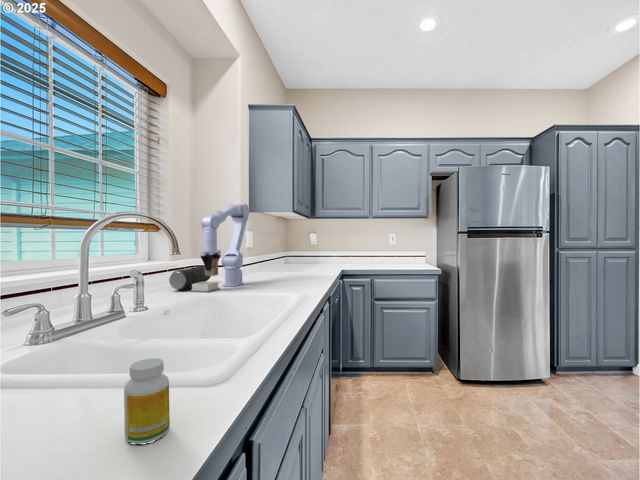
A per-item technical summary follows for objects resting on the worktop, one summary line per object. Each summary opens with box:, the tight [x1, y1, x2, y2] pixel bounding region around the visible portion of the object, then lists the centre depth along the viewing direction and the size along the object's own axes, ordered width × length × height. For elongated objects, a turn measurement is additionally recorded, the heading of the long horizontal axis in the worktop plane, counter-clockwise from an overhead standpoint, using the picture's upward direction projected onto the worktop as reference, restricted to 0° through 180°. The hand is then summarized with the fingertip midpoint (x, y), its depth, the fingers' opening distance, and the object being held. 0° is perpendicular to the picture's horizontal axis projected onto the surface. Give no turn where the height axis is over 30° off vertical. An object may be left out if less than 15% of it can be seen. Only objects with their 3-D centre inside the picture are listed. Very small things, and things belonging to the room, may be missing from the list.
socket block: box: [189, 281, 221, 293], centre depth 163 cm, size 10×10×4 cm
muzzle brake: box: [168, 265, 212, 291], centre depth 174 cm, size 10×28×10 cm, turn 174°
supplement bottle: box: [123, 357, 171, 444], centre depth 45 cm, size 5×5×10 cm
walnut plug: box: [205, 258, 219, 277], centre depth 162 cm, size 4×4×9 cm
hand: (211, 270), depth 162 cm, fingers closed on walnut plug, 4 cm apart
